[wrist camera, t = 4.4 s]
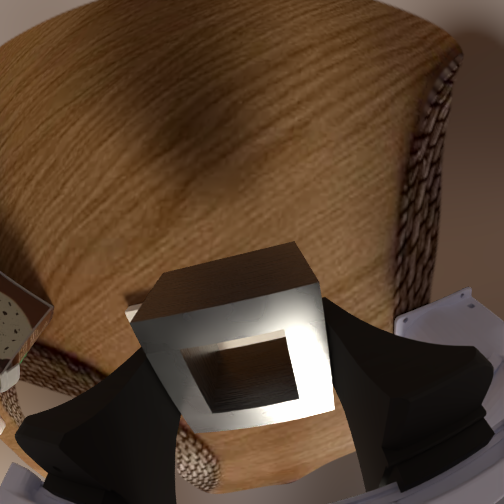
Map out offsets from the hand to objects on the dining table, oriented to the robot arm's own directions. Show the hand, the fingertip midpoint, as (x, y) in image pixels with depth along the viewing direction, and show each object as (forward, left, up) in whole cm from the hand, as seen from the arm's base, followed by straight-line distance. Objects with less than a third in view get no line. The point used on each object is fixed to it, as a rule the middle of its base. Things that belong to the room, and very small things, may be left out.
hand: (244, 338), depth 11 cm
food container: (+24, -1, -10) cm, 26 cm away
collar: (0, 0, -2) cm, 2 cm away
